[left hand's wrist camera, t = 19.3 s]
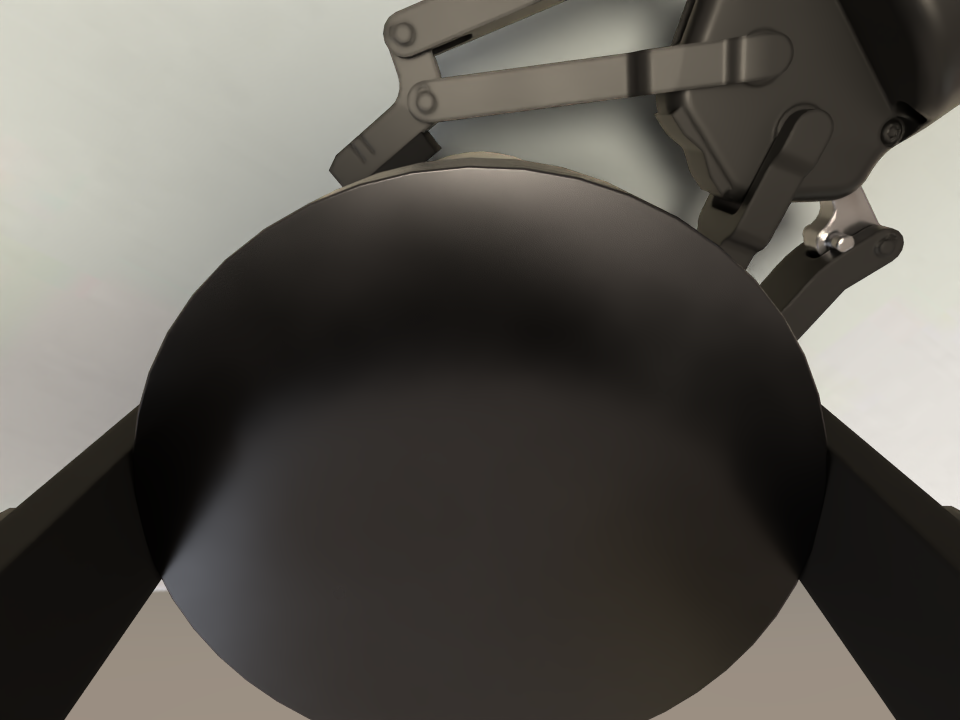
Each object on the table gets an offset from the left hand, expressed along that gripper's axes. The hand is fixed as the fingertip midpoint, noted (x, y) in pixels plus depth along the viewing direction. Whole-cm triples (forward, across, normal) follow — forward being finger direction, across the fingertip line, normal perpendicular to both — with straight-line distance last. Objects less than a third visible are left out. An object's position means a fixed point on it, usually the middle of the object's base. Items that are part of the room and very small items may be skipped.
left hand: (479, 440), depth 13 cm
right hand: (+10, -3, -3) cm, 11 cm away
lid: (-3, 0, 0) cm, 3 cm away
